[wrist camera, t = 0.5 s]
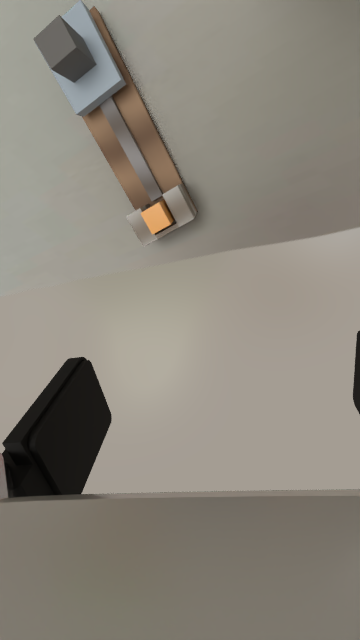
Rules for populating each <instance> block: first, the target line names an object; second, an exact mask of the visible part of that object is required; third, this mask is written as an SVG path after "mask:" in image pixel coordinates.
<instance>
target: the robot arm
mask: <svg viewBox="0 0 360 640" xmlns="http://www.w3.org/2000/svg"><path fill="white" fill-rule="evenodd" d="M354 374H355V375H354V388H353V400H354V404H355V406H356V408H357V410H358V411H359V414H360V331H358V333H357V343H356V358H355V373H354ZM110 423H111V412H110V410H109V407H108V405H107V402H106V399H105V397H104V394H103V392H102V389H101V387H100V385H99V381H98V379H97V376H96V374H95V371H94V369H93V366H92V364H91V362H90V361H89V360H86V359H85V358H84V357H79V358H70V359H68V360H67V361H66V362H65V363H64V365H63V366H62V367H61V368H60V370H59V371H58V372H57V374H56V375H55V376H54V377H53V379H52V380H51V381H50V383H49V384H48V385H47V386H46V388H45V389H44V390H43V392H42V393H41V394H40V395H39V397H38V398H37V399H36V401H35V402H34V403H33V404H32V406H31V407H30V408H29V410H28V411H27V412H26V413H25V415H24V416H23V417H22V419H21V420H20V421H19V422H18V424H17V425H16V426H15V428H14V429H13V430H12V431H11V433H10V434H9V435H8V437H7V438H6V439H5V440H4V442H3V445H4V447H5V451H4V452H3V453H2V454H1V453H0V640H360V489H358V490H354V489H353V490H351V489H347V490H272V491H214V492H213V491H211V492H164V493H163V492H160V493H117V494H81V493H82V491H83V488H84V486H85V483H86V481H87V479H88V476H89V474H90V472H91V469H92V467H93V464H94V462H95V460H96V457H97V455H98V452H99V450H100V448H101V445H102V443H103V440H104V438H105V436H106V433H107V431H108V428H109V426H110Z"/></svg>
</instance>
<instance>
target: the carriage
mask: <svg viewBox="0 0 360 640" xmlns="http://www.w3.org/2000/svg"><path fill="white" fill-rule="evenodd" d="M34 41H35V43H36V45H37V47H38V49H39V50H40V52H41V54H42V55H43V57H44V59H45V61H46V62H47V64H48V66H49V68H50V69H51V71H52V73H53V75H54V76H55V78H56V80H57V82H58V83H59V85H60V87H61V88H62V90H63V92H64V94H65V95H66V97H67V99H68V101H69V102H70V104H71V106H72V108H73V109H74V111H75V113H76V114H77V115H79V116H82V117H84V116H86V115H87V114H88V113H90V112H91V111H92V110H94V109H95V108H96V107H97V106H99V105H100V104H101V103H103V102H104V101H105V100H107V99H108V98H109V97H110V96H112V95H113V94H114V93H116V92H117V91H118V90H120V89H121V88H122V87H123V86H125V85H126V83H125V81H124V79H123V77H122V75H121V73H120V71H119V69H118V67H117V65H116V63H115V61H114V59H113V57H112V55H111V53H110V51H109V49H108V47H107V45H106V43H105V41H104V39H103V37H102V35H101V33H100V31H99V29H98V27H97V25H96V23H95V21H94V19H93V17H92V15H91V13H90V11H89V9H88V8H87V7H86V6H85V4H84V3H83V2H82V1H81V0H79V1H78V2H77V3H76V4H75V5H74V6H73V7H72V8H71V9H70V10H69V11H68V12H66V13H65V14H64V15H63V16H62V17H61V16H60V15H59V16H58V17H56V18H55V19H54V20H53V21H52V22H51V23H50V24H49V25H48V26H47V27H46V28H45V29H44V30H43V31H41V32H40V33H39V34H38V35H37V36H36V37H35V38H34Z"/></svg>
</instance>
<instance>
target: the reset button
mask: <svg viewBox="0 0 360 640" xmlns="http://www.w3.org/2000/svg"><path fill="white" fill-rule="evenodd" d="M140 214H141V216H142V217H143V219H144V221H145V223H146V224H147V226H148V228H149V230H150V231H151V233H152V235H153V234H155V233H156V232H158V231H160V230H162V229H163V228H165V227H167V226H169V225H171V223H172V222H173V221H174V220H175V218H174V216H173V215H172V213H171V211H170V209H169V207H168V205H167V203H166V201H165V199H163V200H162V201H160V202H158V203H157V204H155V205H153V206H152V207H150V208H148V209H147V210H145V211H143V212H142V213H140Z"/></svg>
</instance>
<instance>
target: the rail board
mask: <svg viewBox="0 0 360 640" xmlns="http://www.w3.org/2000/svg"><path fill="white" fill-rule="evenodd" d="M89 11H90V13H91V15H92V17H93V19H94V21H95V23H96V25H97V27H98V29H99V31H100V33H101V35H102V37H103V39H104V41H105V43H106V45H107V47H108V49H109V51H110V53H111V55H112V57H113V59H114V61H115V63H116V65H117V67H118V69H119V71H120V73H121V75H122V77H123V79H124V81H125V83H126V85H125V86H123V87H122V88H121V89H120V90H118V91H117V92H116V93H114V94H113V95H112V96H110V97H109V98H108V99H107V100H105V101H104V102H103V103H101V104H100V105H99V106H97V107H96V108H95V109H94V110H92V111H91V112H90V113H88V114H87V115H86V116H84V117H83V119H84V121H85V123H86V124H87V126H88V128H89V130H90V131H91V133H92V135H93V137H94V138H95V140H96V142H97V144H98V145H99V147H100V149H101V151H102V152H103V154H104V156H105V158H106V159H107V161H108V163H109V165H110V166H111V168H112V170H113V172H114V173H115V175H116V177H117V179H118V180H119V182H120V184H121V186H122V187H123V189H124V191H125V193H126V194H127V196H128V198H129V200H130V201H131V203H132V205H133V207H134V208H135V210H136V211H134V212H133V213H131V214H129V215H128V216H126V218H127V219H128V221H129V223H130V225H131V226H132V228H133V230H134V232H135V233H136V235H137V236H138V238H139V240H140V242H141V243H142V245H143V247H144V246H146V245H148V244H150V243H151V242H153V241H155V240H157V239H159V238H160V237H162V236H164V235H166V234H168V233H169V232H171V231H173V230H175V229H177V228H179V227H180V226H182V225H184V224H186V223H188V222H189V221H191V220H193V219H194V218H195V216H196V214H197V212H198V211H197V209H196V207H195V205H194V203H193V201H192V199H191V197H190V195H189V193H188V191H187V189H186V187H185V185H184V183H183V181H182V179H181V177H180V175H179V173H178V171H177V169H176V167H175V165H174V163H173V161H172V159H171V157H170V155H169V153H168V151H167V149H166V147H165V145H164V143H163V141H162V139H161V137H160V135H159V132H158V130H157V128H156V126H155V124H154V122H153V120H152V118H151V116H150V114H149V112H148V110H147V108H146V106H145V104H144V102H143V100H142V98H141V96H140V94H139V92H138V90H137V88H136V86H135V84H134V82H133V80H132V78H131V76H130V74H129V72H128V70H127V68H126V66H125V64H124V62H123V60H122V58H121V56H120V54H119V52H118V50H117V48H116V46H115V44H114V41H113V39H112V37H111V35H110V33H109V31H108V29H107V27H106V25H105V23H104V21H103V19H102V17H101V15H100V13H99V12H98V10H97V9H96V8H95V6H94V7H93V8H92V9H90V10H89ZM163 199H165V201H166V203H167V205H168V207H169V209H170V211H171V213H172V215H173V216H174V218H175V220H174V221H173V222H172V223H171V225H169V226H167V227H165V228H163V229H162V230H160V231H158V232H156V233H155V234H153V235H152V233H151V231H150V230H149V228H148V226H147V224H146V223H145V221H144V219H143V217H142V216H141V214H140V213H142V212H143V211H145V210H147V209H148V208H150V207H152V206H153V205H155V204H157V203H158V202H160V201H162V200H163Z"/></svg>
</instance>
